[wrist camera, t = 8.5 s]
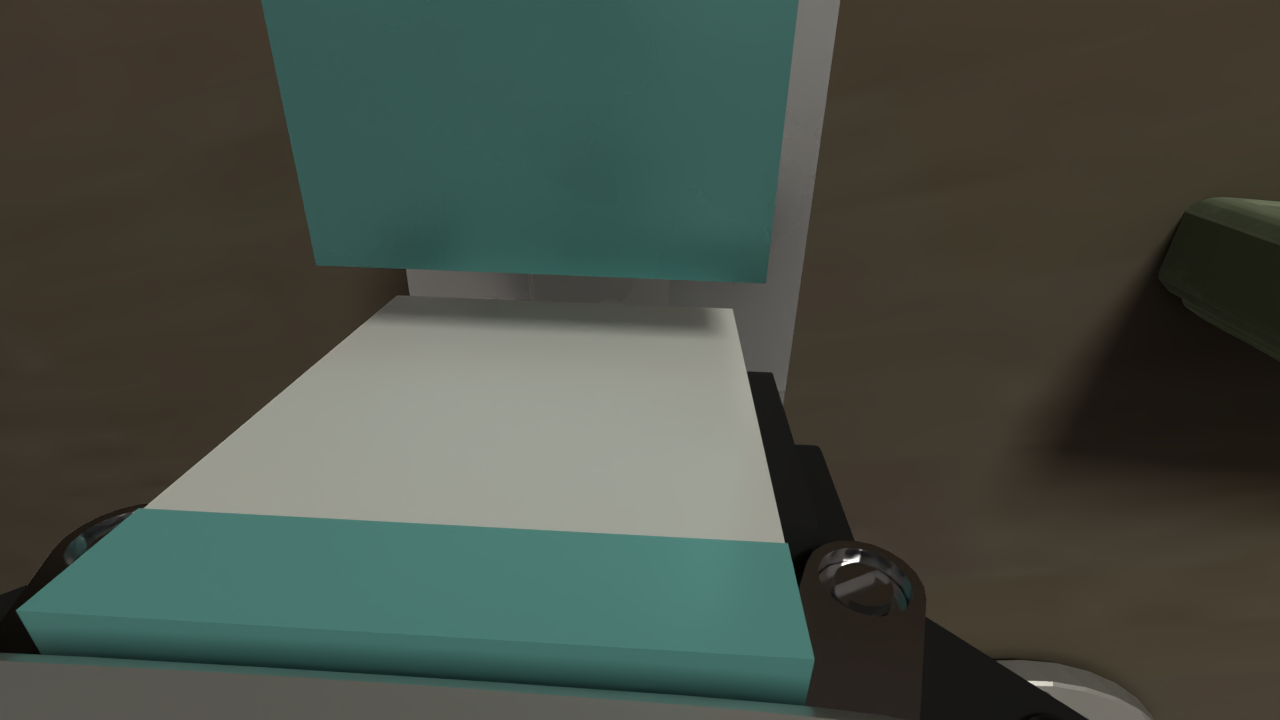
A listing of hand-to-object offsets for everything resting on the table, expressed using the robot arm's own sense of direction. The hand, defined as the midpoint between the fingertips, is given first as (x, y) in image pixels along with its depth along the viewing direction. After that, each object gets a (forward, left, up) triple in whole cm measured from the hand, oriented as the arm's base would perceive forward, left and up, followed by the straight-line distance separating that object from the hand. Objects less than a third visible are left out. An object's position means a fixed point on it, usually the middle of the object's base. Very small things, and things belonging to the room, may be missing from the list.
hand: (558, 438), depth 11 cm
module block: (0, 0, -1) cm, 1 cm away
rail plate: (0, 0, -7) cm, 7 cm away
